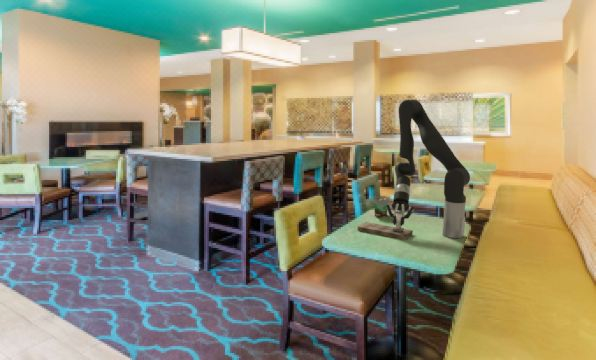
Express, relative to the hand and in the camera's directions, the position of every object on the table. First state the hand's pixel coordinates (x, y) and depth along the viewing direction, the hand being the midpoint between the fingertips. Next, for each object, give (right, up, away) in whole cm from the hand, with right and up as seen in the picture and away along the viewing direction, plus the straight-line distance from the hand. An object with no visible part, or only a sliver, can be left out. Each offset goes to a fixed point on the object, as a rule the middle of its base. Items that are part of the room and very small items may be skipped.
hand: (398, 224), depth 183 cm
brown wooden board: (-5, -5, +7) cm, 10 cm away
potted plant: (+1, 0, +38) cm, 38 cm away
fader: (+1, -3, +3) cm, 4 cm away
